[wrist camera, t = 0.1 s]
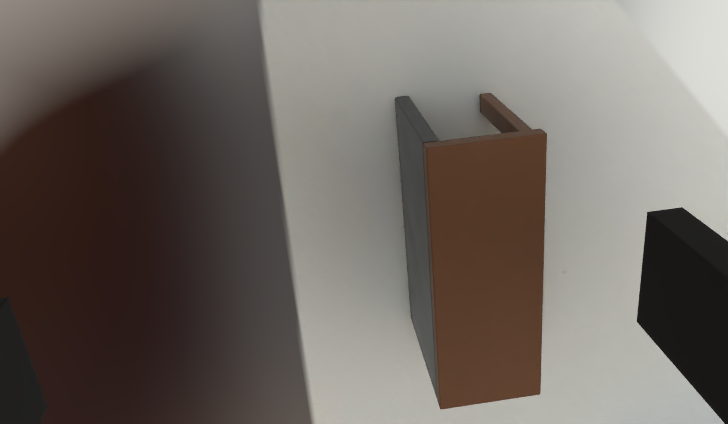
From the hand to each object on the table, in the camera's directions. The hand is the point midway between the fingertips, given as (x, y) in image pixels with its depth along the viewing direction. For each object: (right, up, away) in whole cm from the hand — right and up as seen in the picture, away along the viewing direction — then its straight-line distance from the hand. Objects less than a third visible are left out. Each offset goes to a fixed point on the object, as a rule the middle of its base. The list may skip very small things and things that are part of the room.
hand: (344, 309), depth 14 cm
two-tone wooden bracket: (+4, +2, +17) cm, 17 cm away
